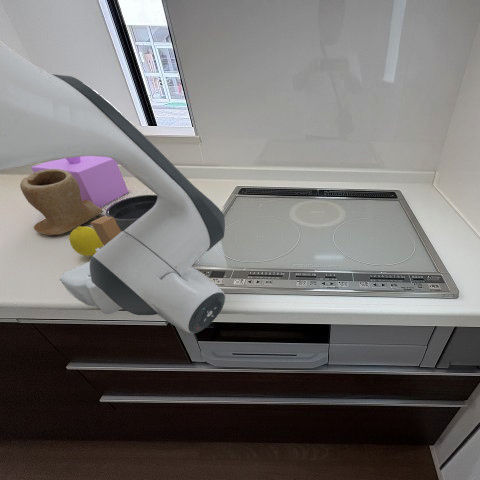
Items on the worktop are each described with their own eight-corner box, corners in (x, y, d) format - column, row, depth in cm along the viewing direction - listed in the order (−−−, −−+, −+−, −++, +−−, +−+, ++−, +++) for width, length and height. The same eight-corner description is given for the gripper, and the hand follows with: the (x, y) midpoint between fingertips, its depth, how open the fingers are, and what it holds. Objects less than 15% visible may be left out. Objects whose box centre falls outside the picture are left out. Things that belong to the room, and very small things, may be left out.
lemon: (75, 258, 61) (56, 229, 57) (100, 246, 65) (85, 218, 61) (88, 265, 59) (70, 236, 55) (114, 252, 63) (99, 224, 59)
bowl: (99, 234, 69) (92, 219, 67) (132, 207, 82) (126, 194, 79) (158, 235, 70) (153, 220, 68) (181, 208, 83) (178, 195, 80)
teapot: (143, 184, 96) (129, 144, 88) (81, 217, 76) (56, 170, 68) (106, 180, 98) (89, 141, 90) (36, 211, 77) (6, 164, 70)
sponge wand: (116, 281, 56) (81, 223, 48) (132, 269, 59) (101, 213, 51) (135, 284, 55) (102, 226, 47) (150, 272, 58) (121, 215, 50)
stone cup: (66, 242, 66) (31, 186, 57) (29, 234, 68) (-10, 179, 60) (118, 214, 78) (95, 164, 70) (85, 208, 80) (59, 159, 72)
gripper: (199, 232, 52) (159, 211, 58) (75, 293, 38) (40, 257, 44) (205, 256, 56) (167, 234, 62) (95, 321, 42) (59, 285, 48)
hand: (113, 244), depth 53 cm, fingers closed on sponge wand, 3 cm apart
